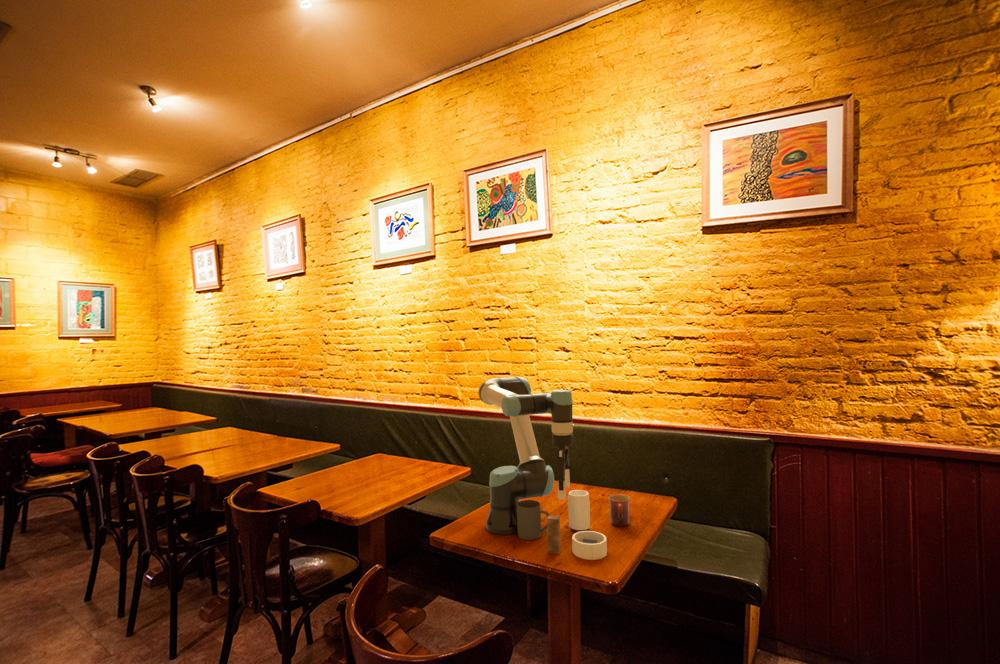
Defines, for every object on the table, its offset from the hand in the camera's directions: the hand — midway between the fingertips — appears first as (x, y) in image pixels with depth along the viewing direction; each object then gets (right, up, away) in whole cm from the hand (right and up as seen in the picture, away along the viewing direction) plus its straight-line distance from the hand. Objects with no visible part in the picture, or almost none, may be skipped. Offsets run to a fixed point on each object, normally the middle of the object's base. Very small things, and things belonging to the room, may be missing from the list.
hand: (564, 492), depth 167 cm
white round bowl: (+8, -19, -4) cm, 21 cm away
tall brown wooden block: (-4, -20, -4) cm, 20 cm away
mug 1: (-10, -20, +10) cm, 25 cm away
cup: (+8, -20, +16) cm, 27 cm away
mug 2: (+25, -20, +19) cm, 37 cm away
